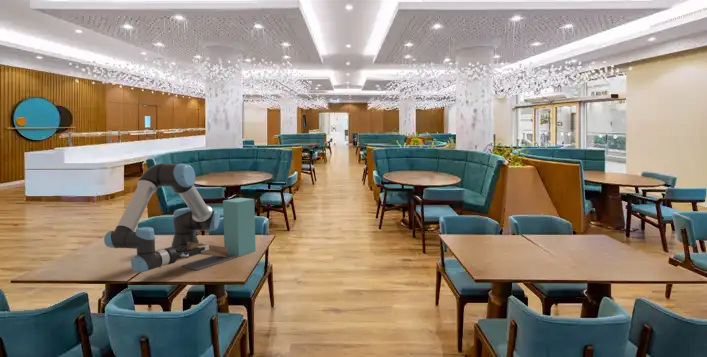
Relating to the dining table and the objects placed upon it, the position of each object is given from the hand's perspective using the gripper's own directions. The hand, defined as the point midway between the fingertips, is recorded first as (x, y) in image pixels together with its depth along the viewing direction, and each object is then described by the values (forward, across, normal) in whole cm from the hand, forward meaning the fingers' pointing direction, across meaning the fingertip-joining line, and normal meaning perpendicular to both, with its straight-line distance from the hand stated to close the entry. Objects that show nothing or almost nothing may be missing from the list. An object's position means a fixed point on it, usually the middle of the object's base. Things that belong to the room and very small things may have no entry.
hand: (205, 246), depth 228 cm
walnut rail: (+1, 0, -5) cm, 5 cm away
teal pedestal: (+25, 0, -9) cm, 26 cm away
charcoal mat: (+3, 0, -9) cm, 10 cm away
